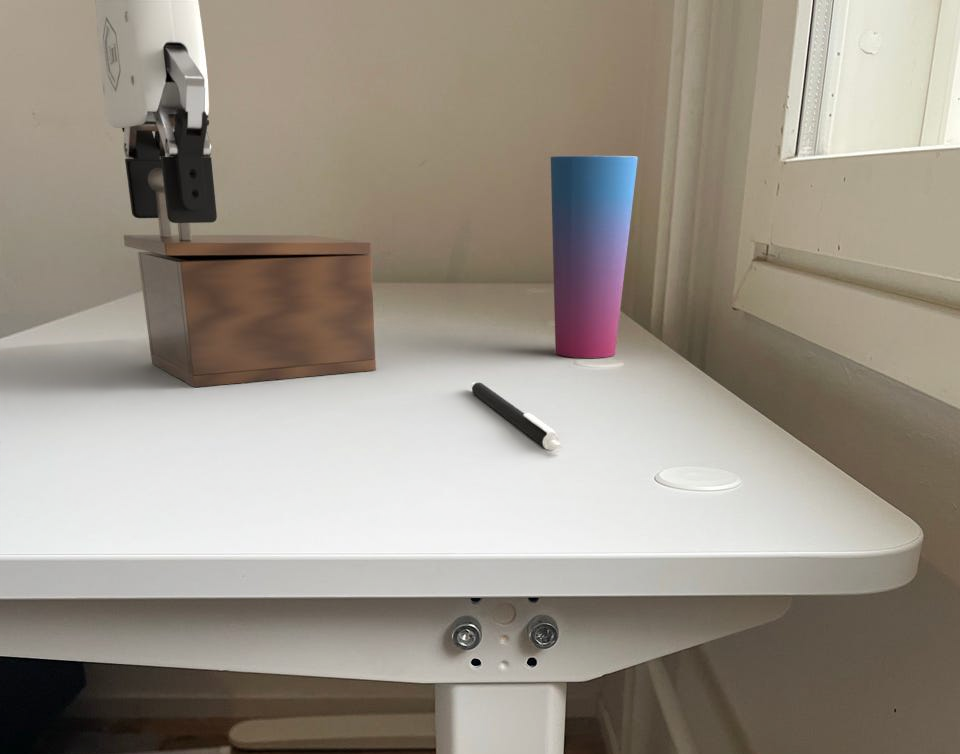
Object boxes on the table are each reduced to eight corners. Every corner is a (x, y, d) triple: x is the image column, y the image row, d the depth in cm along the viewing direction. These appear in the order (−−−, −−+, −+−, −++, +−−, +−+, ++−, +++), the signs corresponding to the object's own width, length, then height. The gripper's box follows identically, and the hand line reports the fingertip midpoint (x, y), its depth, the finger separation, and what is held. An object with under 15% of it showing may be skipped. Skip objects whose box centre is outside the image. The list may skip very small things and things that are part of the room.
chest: (194, 387, 72) (180, 262, 68) (151, 363, 81) (137, 251, 77) (376, 370, 78) (371, 255, 75) (317, 350, 87) (311, 246, 84)
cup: (571, 344, 90) (578, 157, 84) (640, 352, 87) (653, 157, 80) (529, 354, 85) (534, 156, 79) (600, 362, 82) (611, 155, 75)
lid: (165, 255, 68) (157, 166, 65) (124, 246, 77) (115, 167, 75) (371, 254, 75) (370, 173, 73) (311, 245, 84) (308, 173, 82)
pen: (550, 457, 55) (551, 436, 54) (466, 391, 71) (465, 374, 71) (566, 456, 55) (567, 435, 54) (478, 390, 72) (478, 374, 71)
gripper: (54, -51, 70) (92, 217, 77) (110, -105, 57) (151, 226, 64) (163, -40, 74) (190, 215, 81) (241, -89, 60) (265, 223, 67)
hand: (173, 219), depth 72 cm, fingers open, 9 cm apart
